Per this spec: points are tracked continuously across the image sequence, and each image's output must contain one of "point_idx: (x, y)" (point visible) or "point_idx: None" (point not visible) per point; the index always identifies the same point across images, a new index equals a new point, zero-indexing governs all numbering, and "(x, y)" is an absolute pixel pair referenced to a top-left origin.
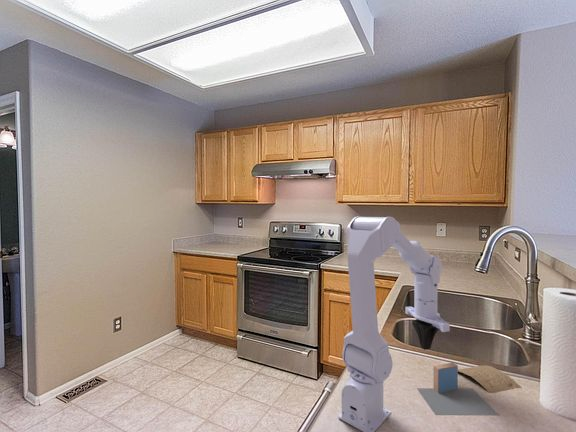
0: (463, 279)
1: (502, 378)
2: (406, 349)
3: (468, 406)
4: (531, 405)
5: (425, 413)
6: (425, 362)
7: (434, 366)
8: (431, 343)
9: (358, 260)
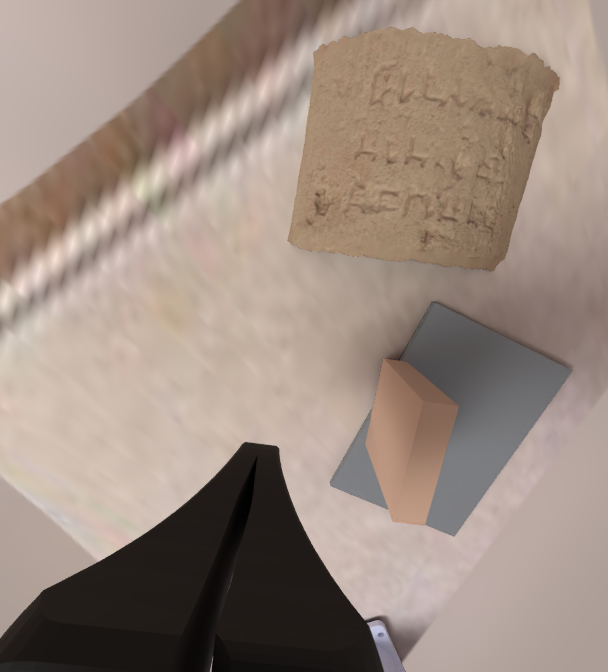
0: None
1: (501, 110)
2: (31, 263)
3: (488, 420)
4: None
5: (426, 543)
6: (182, 287)
7: (398, 521)
8: (280, 470)
9: None
